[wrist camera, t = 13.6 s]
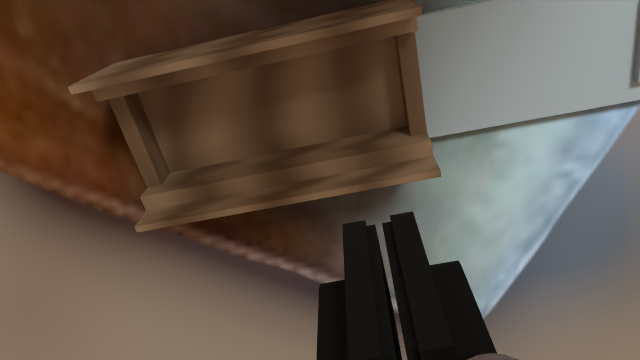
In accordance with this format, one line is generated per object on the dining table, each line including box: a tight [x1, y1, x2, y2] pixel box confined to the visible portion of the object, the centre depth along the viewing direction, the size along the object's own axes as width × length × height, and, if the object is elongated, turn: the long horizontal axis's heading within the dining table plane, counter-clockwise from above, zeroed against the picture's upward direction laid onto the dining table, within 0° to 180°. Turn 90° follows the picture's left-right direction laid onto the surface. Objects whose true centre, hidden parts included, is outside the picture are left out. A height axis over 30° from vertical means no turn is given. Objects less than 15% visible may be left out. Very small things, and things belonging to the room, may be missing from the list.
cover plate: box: [415, 0, 640, 138], centre depth 33 cm, size 18×9×2 cm, turn 102°
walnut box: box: [68, 0, 441, 232], centre depth 32 cm, size 22×11×7 cm, turn 102°
